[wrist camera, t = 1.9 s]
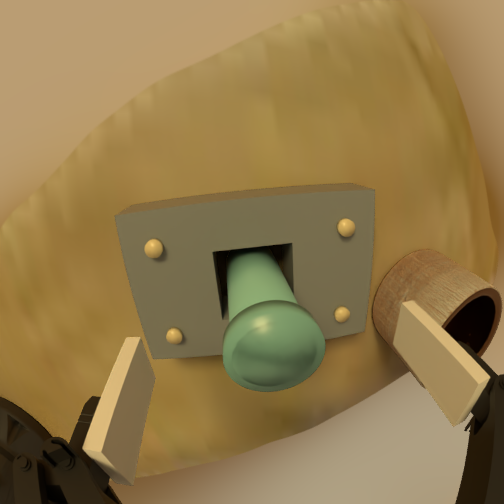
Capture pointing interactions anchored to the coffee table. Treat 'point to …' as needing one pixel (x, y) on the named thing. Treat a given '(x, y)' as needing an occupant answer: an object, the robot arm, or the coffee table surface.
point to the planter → (439, 300)
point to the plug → (267, 325)
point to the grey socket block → (245, 236)
